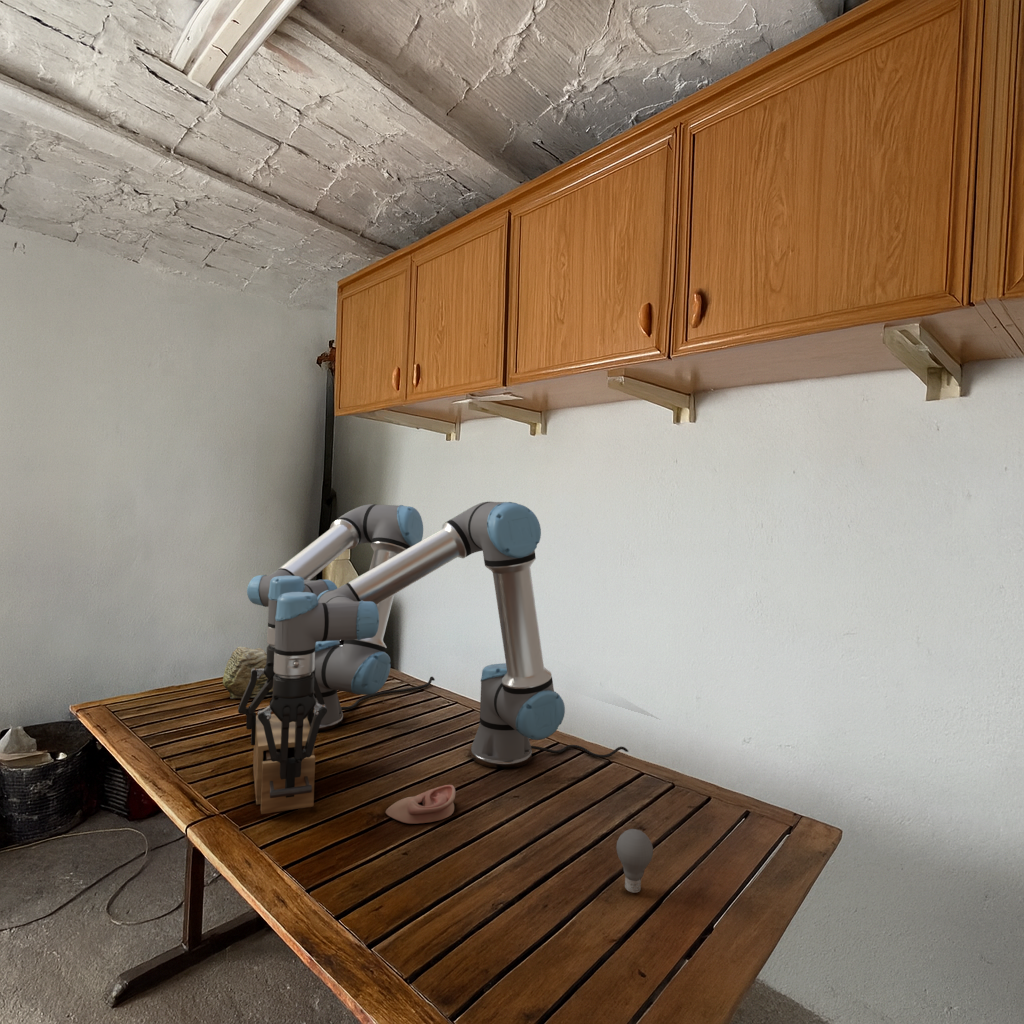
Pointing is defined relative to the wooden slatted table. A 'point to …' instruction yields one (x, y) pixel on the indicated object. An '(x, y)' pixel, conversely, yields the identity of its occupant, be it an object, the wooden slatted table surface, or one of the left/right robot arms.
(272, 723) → the cabinet
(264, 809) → the drawer
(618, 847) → the light bulb
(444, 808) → the anatomical model
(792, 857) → the wooden slatted table surface
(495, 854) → the wooden slatted table surface
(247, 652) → the fossil
